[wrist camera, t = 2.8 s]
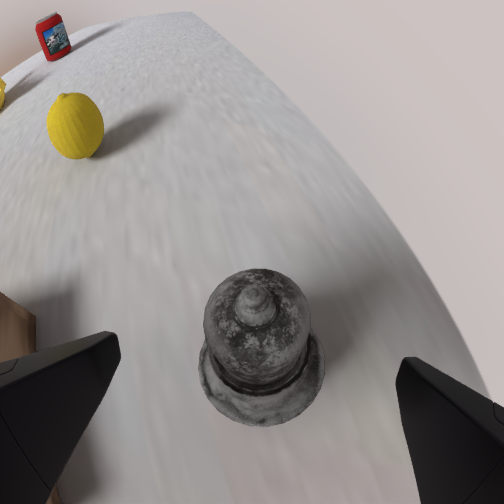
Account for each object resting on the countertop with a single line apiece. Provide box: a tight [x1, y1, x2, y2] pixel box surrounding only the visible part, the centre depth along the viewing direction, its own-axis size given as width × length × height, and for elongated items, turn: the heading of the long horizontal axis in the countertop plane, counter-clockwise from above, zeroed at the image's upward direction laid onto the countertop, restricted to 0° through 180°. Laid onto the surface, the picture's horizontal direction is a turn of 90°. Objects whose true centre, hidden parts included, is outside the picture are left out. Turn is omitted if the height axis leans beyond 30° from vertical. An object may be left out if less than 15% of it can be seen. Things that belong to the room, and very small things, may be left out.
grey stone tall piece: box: [198, 269, 325, 427], centre depth 11 cm, size 6×6×12 cm
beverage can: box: [35, 12, 71, 61], centre depth 46 cm, size 7×7×12 cm
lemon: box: [47, 93, 104, 159], centre depth 24 cm, size 6×6×8 cm
